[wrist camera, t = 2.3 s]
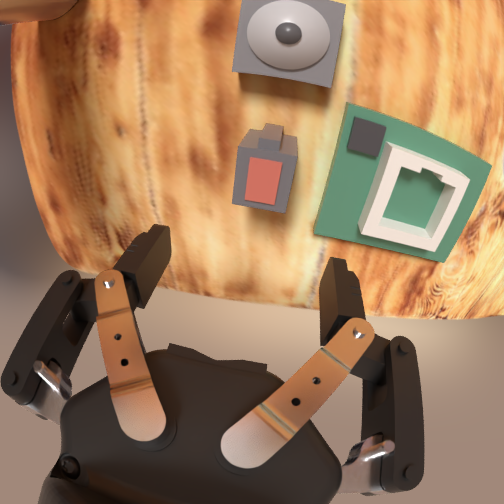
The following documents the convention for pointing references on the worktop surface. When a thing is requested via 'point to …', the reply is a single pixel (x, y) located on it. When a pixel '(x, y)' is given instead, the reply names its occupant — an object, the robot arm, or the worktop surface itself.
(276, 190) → the keyed plug
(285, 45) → the grey square domed block
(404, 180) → the circuit board
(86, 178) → the worktop surface
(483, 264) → the worktop surface
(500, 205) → the worktop surface
